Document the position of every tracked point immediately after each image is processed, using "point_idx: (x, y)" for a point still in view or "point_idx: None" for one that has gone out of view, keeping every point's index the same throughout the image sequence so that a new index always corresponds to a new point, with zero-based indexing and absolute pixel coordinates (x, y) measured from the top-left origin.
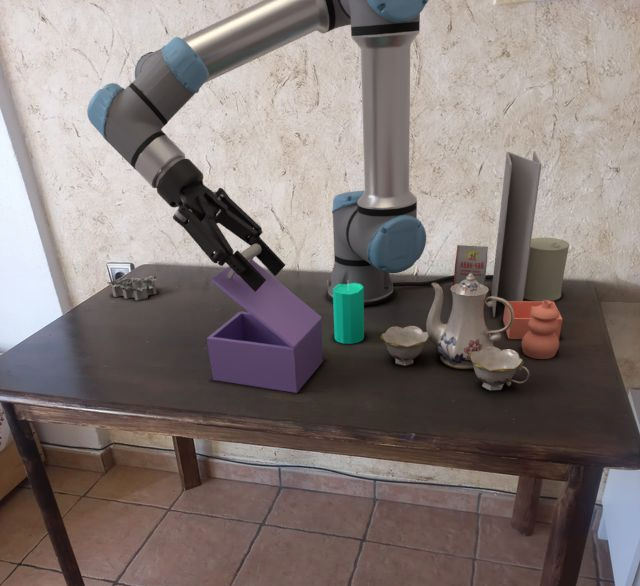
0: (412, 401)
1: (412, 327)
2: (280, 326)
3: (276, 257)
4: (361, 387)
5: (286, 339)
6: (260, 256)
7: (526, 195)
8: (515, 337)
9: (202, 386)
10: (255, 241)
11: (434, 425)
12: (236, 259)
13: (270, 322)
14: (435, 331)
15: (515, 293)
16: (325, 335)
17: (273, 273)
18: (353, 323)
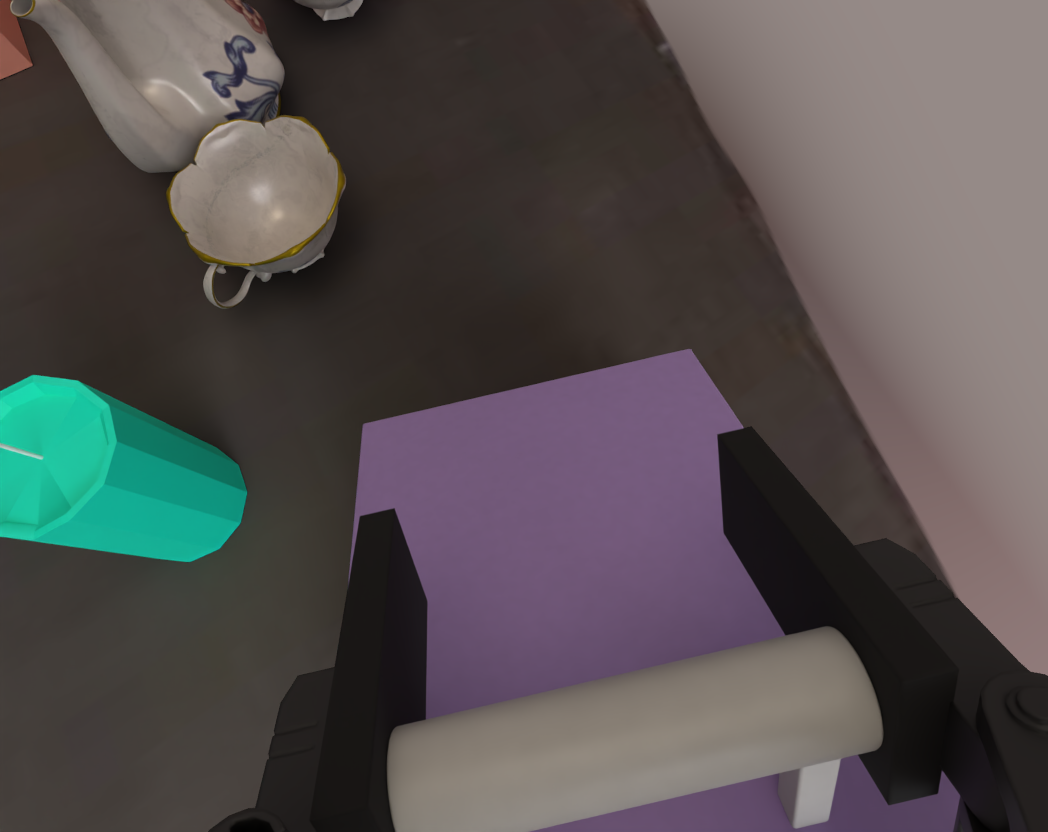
0: (516, 117)
1: (175, 200)
2: (674, 420)
3: (377, 571)
4: (516, 268)
5: (705, 372)
6: None
7: None
8: (24, 47)
9: None
10: (385, 822)
11: (598, 27)
12: (937, 639)
13: None
14: (183, 122)
15: None
16: (202, 603)
17: (425, 610)
18: (187, 437)
